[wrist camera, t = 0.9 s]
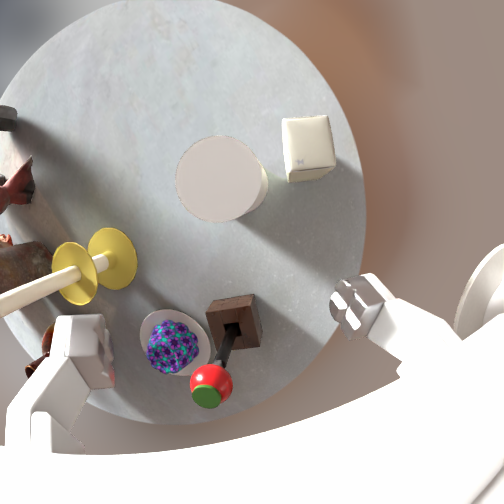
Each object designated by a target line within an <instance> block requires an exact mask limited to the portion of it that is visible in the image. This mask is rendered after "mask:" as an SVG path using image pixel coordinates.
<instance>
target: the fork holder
mask: <svg viewBox="0 0 504 504" xmlns="http://www.w3.org/2000/svg"><path fill="white" fill-rule="evenodd" d="M205 313H206V317H207V320H208V324H209V327H210V331H211V334H212V337H213V341H214V344H215V347H216V351H217V352H218V349H219V347H220V345H221V343H222V340H223V338H224V336H225V333H226V331H227V329H228V326H229V324H230V323H235V322H239V326H240V327H239V330H238V333H237V336H236V339H235V342H234V345H233V347H232V350H239V349H247V348H254V347H260V344H261V338H262V332H263V331H262V327H261V323H260V318H259V314H258V309H257V305H256V301H255V296H254V294H250V295H244V296H238V297H232V298H227V299H221V300H214V301H213V302H212V303H211V305H210V306H209V308H208V309H207V311H206V312H205Z"/></svg>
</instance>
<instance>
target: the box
mask: <svg viewBox="0 0 504 504" xmlns="http://www.w3.org/2000/svg"><path fill="white" fill-rule="evenodd" d="M282 133H283V148H284V157H285V165H286V172H287V178H288V182H289V183H292V182H302V181H310V180H317V179H320V178H322V177H323V176H324V175H326V174H327V173H328V172H330V171H331V170H332V169H333V168H335V167H336V157H335V149H334V142H333V137H332V132H331V127H330V122H329V118H328V116H326V115H325V116H306V117H295V118H286V119H283V120H282Z"/></svg>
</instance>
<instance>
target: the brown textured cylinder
mask: <svg viewBox="0 0 504 504" xmlns="http://www.w3.org/2000/svg"><path fill="white" fill-rule="evenodd" d="M52 260H53V257H52V255H51V254H50V252H49V251H48V249H47V248H46V247H45V246H44V245H43V244H42V243H41V242H38V241H33V242H28V243H23V244H19V245H14V246H10V247H6V248H1V249H0V295H1V294H3V293H6V292H8V291H10V290H13V289H15V288H18V287H20V286H23V285H25V284H28V283H30V282H32V281H35V280H37V279H40V278H43V277H45V276H48V275H50V274H53V273H52Z"/></svg>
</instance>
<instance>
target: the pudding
mask: <svg viewBox="0 0 504 504" xmlns="http://www.w3.org/2000/svg"><path fill="white" fill-rule="evenodd" d="M140 342H141V346H142V348H143V350H144V352H145V354H146V356H147V359H148V360H149V361H150V362H151V365H152V367H153V368H155V369H158V370H159V371H160V372H162V373H164V374H168V373H170V374H173V375H178V376H189V375H192V374H193V373H194V372H195V370H196V369H198V368H199V367H201V366H203V365H207V364H208V361H209V359H210V355H211V346H210V342H209V339H208V336H207V334H206V333H205V331H204V329H203V328H202V327H201V326H200V325H199V324H198V323H197V322H196V321H195V320H194V319H193V318H191V317H190V316H188V315H186V314H184V313H182V312H179V311H176V310H169V309H165V310H158V311H155V312H153V313H151V314H150V315H148V316H147V317H146V318H145V320H144V321H143V323H142V325H141V328H140Z"/></svg>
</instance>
